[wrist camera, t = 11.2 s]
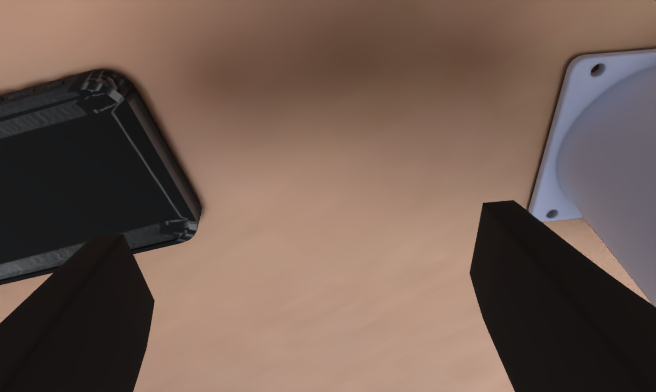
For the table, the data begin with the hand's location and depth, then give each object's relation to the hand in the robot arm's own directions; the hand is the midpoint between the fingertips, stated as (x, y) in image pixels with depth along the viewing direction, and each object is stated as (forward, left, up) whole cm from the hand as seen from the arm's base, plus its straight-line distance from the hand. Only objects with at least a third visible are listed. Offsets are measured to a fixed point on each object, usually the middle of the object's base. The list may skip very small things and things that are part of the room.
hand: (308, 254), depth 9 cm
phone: (+13, +4, -9) cm, 17 cm away
